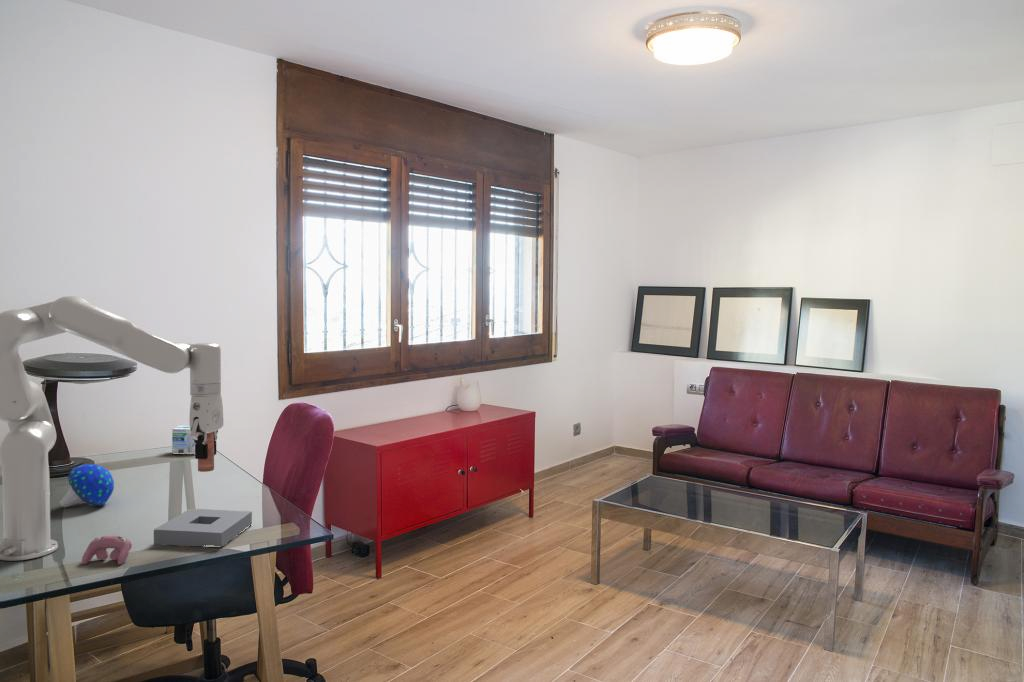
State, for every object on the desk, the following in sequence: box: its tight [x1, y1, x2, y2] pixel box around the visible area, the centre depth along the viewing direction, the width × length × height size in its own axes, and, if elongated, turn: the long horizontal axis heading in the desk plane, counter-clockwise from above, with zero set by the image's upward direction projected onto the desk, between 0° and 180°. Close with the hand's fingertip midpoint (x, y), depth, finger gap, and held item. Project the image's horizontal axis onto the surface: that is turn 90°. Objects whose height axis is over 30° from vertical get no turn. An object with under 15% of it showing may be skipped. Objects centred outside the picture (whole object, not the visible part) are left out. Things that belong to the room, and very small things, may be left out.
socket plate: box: [153, 508, 253, 548], centre depth 187 cm, size 18×18×4 cm
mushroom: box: [59, 463, 115, 508], centre depth 208 cm, size 14×14×15 cm
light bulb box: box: [171, 425, 195, 454], centre depth 279 cm, size 11×7×11 cm, turn 95°
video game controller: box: [81, 535, 133, 566], centre depth 168 cm, size 10×5×7 cm, turn 93°
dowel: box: [197, 430, 215, 473], centre depth 186 cm, size 4×4×12 cm
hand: (205, 456), depth 186 cm, fingers closed on dowel, 4 cm apart
